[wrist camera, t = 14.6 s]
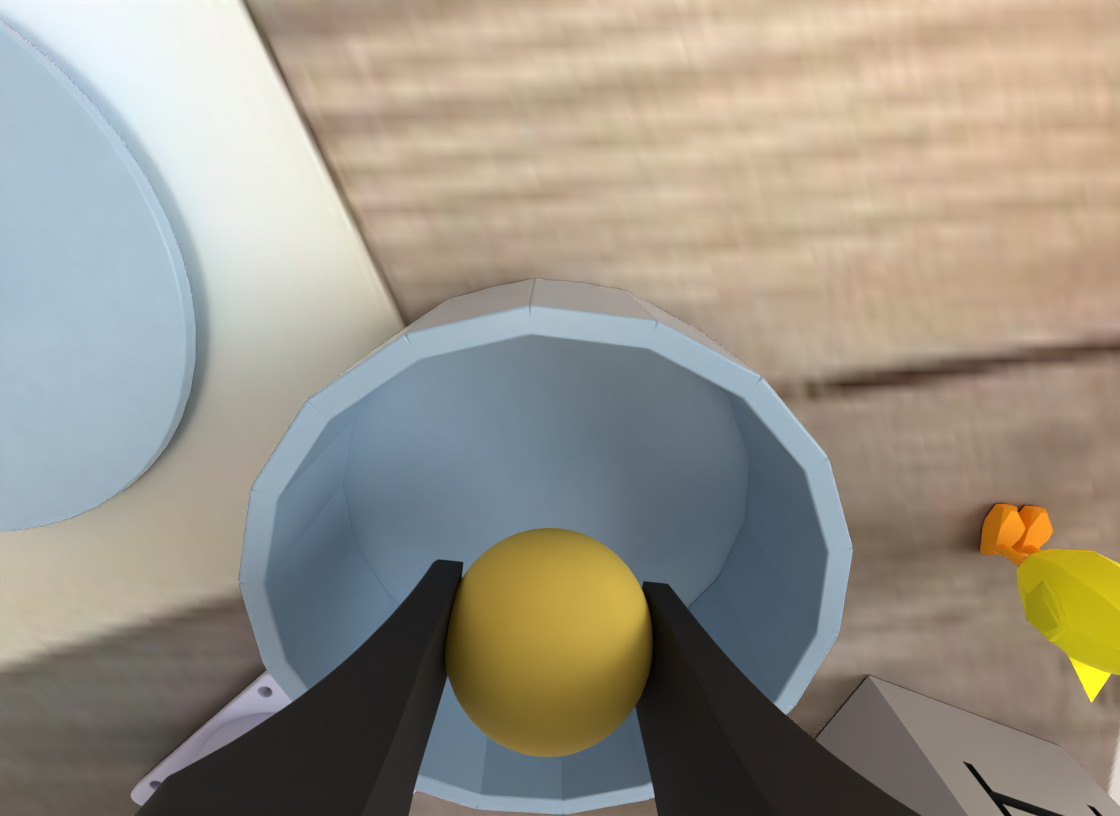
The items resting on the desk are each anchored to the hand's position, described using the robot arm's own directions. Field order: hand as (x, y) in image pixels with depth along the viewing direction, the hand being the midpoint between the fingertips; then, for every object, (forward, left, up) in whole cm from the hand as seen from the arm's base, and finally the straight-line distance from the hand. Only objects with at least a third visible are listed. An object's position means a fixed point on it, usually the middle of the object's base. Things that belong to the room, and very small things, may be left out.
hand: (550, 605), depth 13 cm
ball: (0, 0, +1) cm, 1 cm away
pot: (0, 0, -5) cm, 5 cm away
